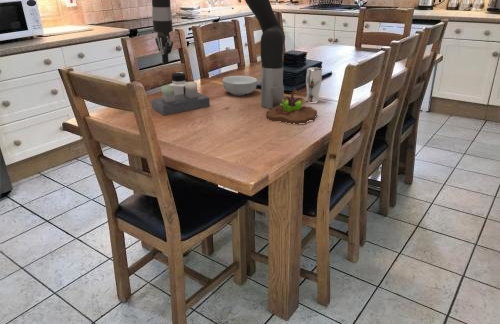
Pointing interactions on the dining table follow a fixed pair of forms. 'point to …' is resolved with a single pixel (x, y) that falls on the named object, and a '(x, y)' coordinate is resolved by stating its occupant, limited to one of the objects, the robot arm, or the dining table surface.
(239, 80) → the cereal bowl
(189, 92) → the whitish grey jar
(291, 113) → the plant
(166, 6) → the robot arm
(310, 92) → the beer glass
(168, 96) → the knob
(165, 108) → the mount
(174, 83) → the medicine bottle
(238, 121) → the dining table surface
